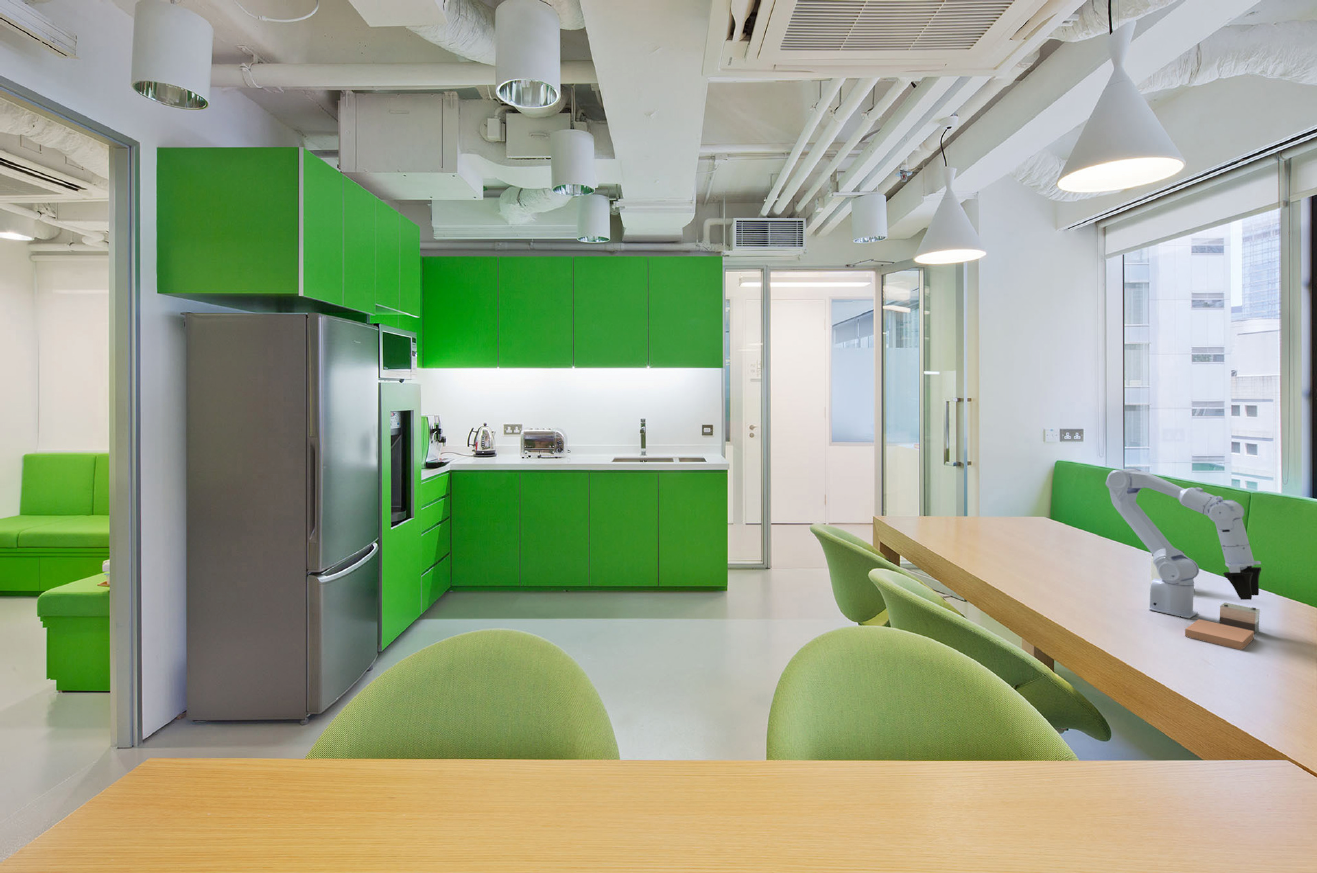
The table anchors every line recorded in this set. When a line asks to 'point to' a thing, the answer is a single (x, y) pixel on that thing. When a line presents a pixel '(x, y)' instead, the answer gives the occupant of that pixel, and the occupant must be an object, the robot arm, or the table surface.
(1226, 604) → the block
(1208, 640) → the stand
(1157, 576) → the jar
